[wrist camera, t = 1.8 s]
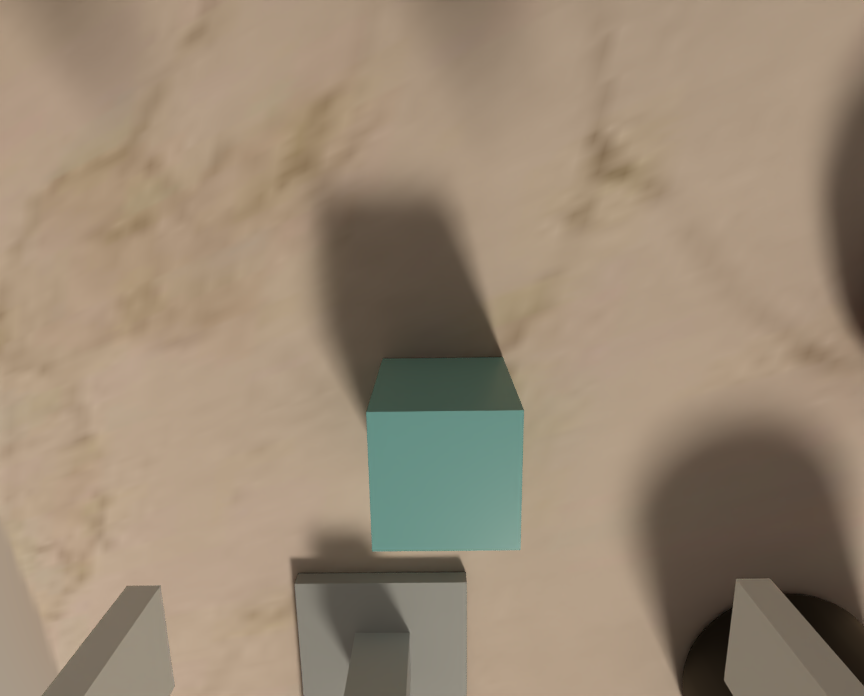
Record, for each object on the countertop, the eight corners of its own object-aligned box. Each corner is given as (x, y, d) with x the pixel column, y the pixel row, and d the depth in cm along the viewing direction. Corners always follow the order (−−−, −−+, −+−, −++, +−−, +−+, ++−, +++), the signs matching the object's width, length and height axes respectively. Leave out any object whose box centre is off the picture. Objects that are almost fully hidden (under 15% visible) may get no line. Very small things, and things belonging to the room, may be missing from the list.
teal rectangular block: (382, 358, 27) (366, 412, 20) (502, 357, 27) (523, 410, 20) (386, 468, 28) (372, 551, 22) (500, 467, 28) (520, 550, 22)
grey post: (298, 573, 29) (271, 649, 25) (465, 572, 29) (471, 647, 24) (308, 710, 31) (285, 805, 27) (465, 709, 31) (471, 805, 26)
